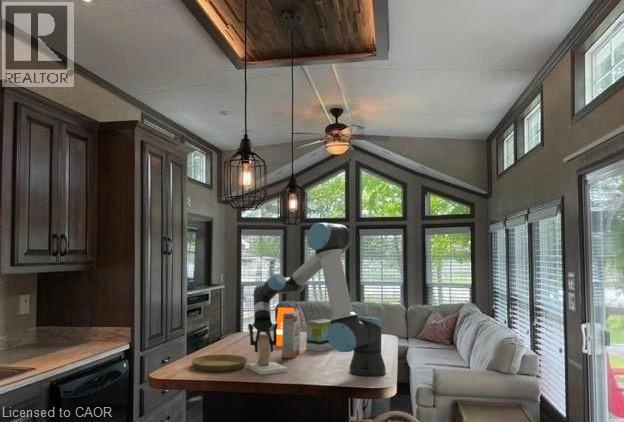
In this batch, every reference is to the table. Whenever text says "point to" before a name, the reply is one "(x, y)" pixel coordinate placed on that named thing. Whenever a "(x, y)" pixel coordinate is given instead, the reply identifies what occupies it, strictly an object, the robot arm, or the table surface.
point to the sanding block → (264, 349)
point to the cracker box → (291, 334)
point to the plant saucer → (219, 362)
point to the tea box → (318, 335)
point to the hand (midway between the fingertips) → (264, 357)
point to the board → (267, 368)
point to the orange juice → (281, 324)
